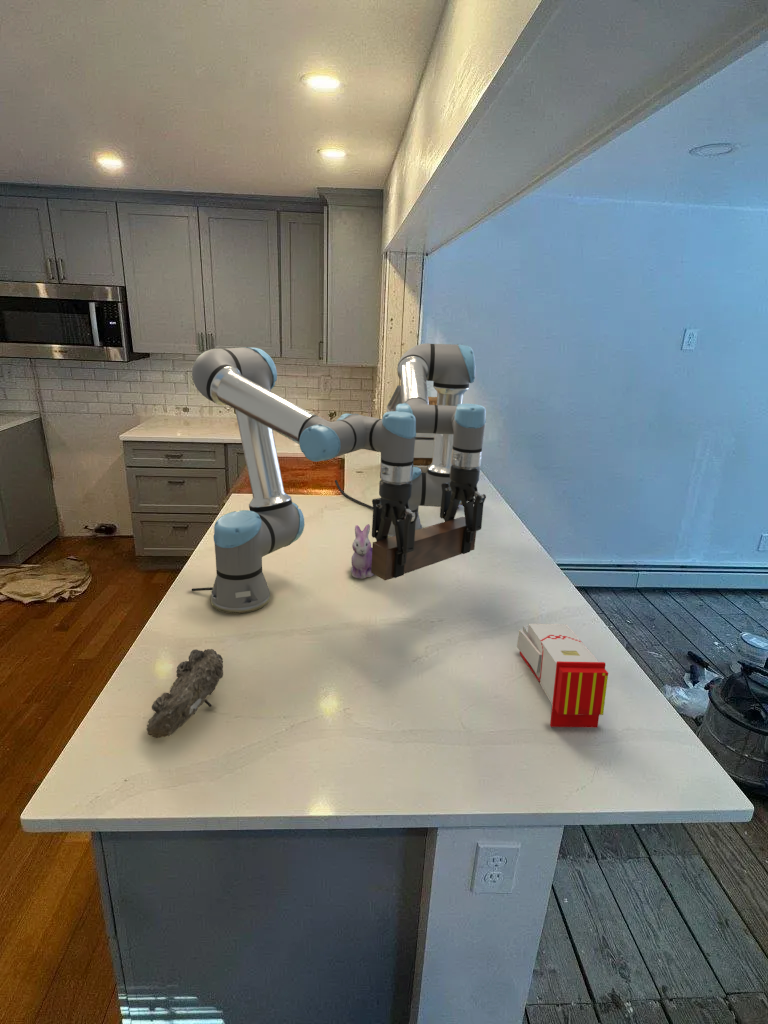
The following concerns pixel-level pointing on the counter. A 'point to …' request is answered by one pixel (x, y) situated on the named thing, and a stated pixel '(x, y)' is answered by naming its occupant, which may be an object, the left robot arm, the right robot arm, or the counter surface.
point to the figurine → (362, 554)
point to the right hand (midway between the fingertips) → (457, 548)
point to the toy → (565, 673)
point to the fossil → (186, 692)
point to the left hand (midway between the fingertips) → (390, 571)
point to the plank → (421, 548)
